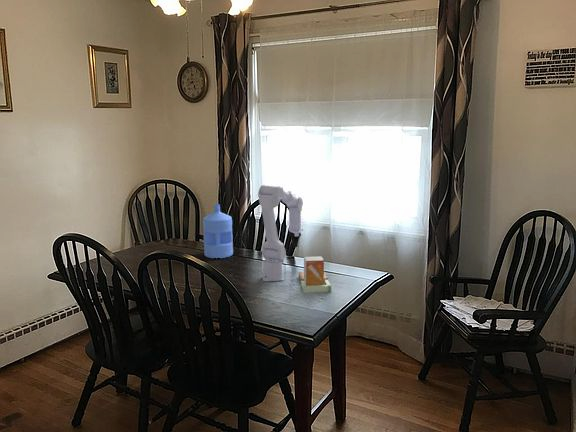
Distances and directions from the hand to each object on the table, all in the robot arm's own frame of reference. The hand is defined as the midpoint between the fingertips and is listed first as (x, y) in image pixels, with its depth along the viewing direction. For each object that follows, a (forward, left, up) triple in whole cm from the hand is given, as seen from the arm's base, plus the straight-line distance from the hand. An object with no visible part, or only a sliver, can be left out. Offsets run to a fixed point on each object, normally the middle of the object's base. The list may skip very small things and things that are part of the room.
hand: (295, 246), depth 246 cm
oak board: (+6, -23, -10) cm, 25 cm away
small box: (+5, -31, -10) cm, 33 cm away
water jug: (-39, +25, -10) cm, 47 cm away
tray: (+5, -34, -10) cm, 36 cm away
